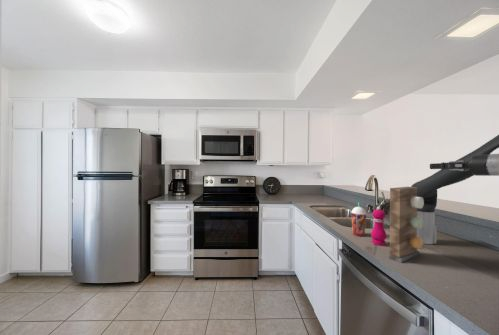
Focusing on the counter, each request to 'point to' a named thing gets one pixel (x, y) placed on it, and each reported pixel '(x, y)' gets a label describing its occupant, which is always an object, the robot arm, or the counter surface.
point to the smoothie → (358, 220)
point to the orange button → (416, 242)
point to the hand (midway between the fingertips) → (435, 166)
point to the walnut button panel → (402, 223)
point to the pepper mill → (378, 228)
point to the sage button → (417, 222)
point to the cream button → (417, 202)
